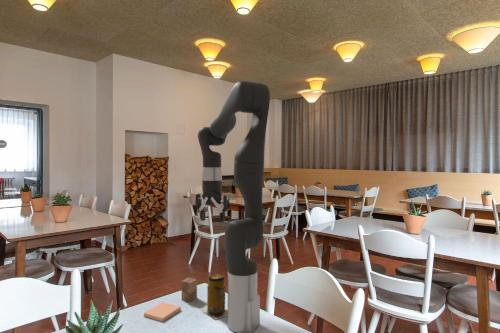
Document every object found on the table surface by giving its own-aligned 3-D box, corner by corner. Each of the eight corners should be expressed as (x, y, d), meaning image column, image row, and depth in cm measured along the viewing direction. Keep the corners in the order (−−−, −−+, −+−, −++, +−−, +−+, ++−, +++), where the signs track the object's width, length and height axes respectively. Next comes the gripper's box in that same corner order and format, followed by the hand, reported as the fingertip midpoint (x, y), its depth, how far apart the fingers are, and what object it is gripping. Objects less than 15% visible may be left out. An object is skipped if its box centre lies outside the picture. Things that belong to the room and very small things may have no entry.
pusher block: (196, 297, 121) (196, 279, 121) (190, 302, 118) (190, 283, 118) (188, 295, 123) (188, 277, 123) (181, 299, 120) (181, 281, 119)
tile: (180, 306, 111) (162, 318, 103) (180, 311, 111) (162, 323, 103) (162, 302, 115) (143, 312, 107) (162, 306, 115) (143, 317, 107)
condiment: (219, 304, 116) (219, 271, 115) (233, 313, 109) (233, 278, 109) (201, 310, 111) (201, 276, 111) (215, 320, 104) (215, 283, 104)
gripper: (233, 179, 124) (233, 221, 124) (202, 178, 130) (202, 218, 131) (222, 180, 117) (223, 224, 118) (191, 179, 124) (191, 221, 124)
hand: (212, 221), depth 124 cm, fingers open, 8 cm apart
